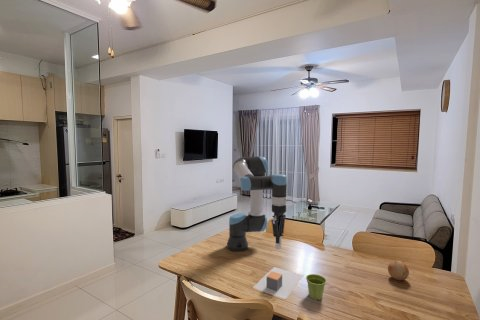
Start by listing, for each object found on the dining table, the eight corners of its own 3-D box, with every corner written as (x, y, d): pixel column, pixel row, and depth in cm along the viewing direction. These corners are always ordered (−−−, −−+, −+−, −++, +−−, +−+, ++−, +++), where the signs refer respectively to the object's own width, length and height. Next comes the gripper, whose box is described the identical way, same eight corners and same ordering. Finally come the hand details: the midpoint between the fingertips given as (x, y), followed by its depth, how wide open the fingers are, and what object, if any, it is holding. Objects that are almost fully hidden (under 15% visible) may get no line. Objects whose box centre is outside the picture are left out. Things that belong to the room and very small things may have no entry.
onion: (398, 285, 131) (399, 266, 130) (383, 275, 140) (383, 258, 140) (413, 282, 133) (414, 264, 133) (397, 273, 143) (397, 256, 142)
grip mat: (252, 288, 128) (252, 287, 128) (274, 267, 150) (274, 266, 150) (285, 300, 118) (285, 299, 118) (303, 276, 140) (303, 275, 140)
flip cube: (271, 271, 133) (271, 282, 133) (266, 276, 128) (266, 287, 128) (282, 274, 129) (282, 285, 130) (277, 279, 124) (277, 291, 125)
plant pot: (310, 288, 128) (310, 272, 127) (328, 295, 122) (329, 278, 121) (302, 297, 121) (302, 279, 120) (321, 305, 115) (321, 286, 114)
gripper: (280, 208, 123) (279, 254, 124) (290, 202, 134) (289, 245, 135) (266, 205, 127) (266, 251, 128) (277, 200, 138) (277, 242, 139)
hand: (278, 248), depth 132 cm, fingers closed
